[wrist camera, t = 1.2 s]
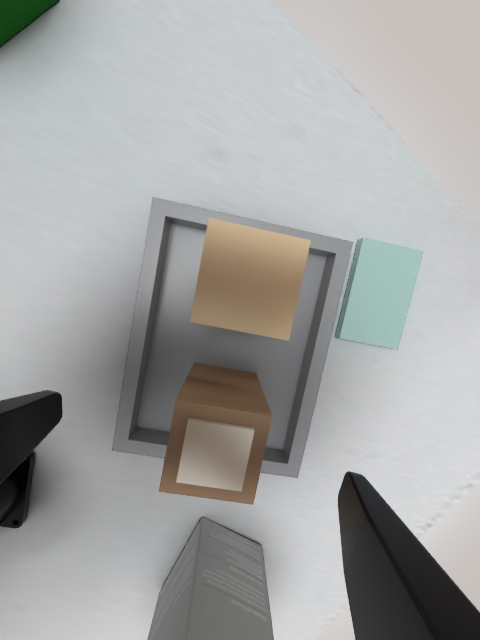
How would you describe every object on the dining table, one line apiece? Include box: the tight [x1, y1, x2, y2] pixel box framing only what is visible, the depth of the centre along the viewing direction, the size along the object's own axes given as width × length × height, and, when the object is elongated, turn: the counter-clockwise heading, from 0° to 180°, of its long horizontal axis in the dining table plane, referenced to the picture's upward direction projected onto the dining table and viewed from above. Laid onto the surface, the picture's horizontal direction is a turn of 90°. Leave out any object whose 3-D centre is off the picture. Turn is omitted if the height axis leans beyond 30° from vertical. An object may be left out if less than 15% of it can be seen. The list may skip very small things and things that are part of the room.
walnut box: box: [159, 362, 272, 504], centre depth 16 cm, size 5×5×7 cm
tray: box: [112, 197, 353, 478], centre depth 19 cm, size 18×14×2 cm
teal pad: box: [335, 238, 423, 350], centre depth 20 cm, size 8×5×1 cm, turn 169°
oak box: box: [190, 218, 311, 341], centre depth 15 cm, size 5×5×7 cm
